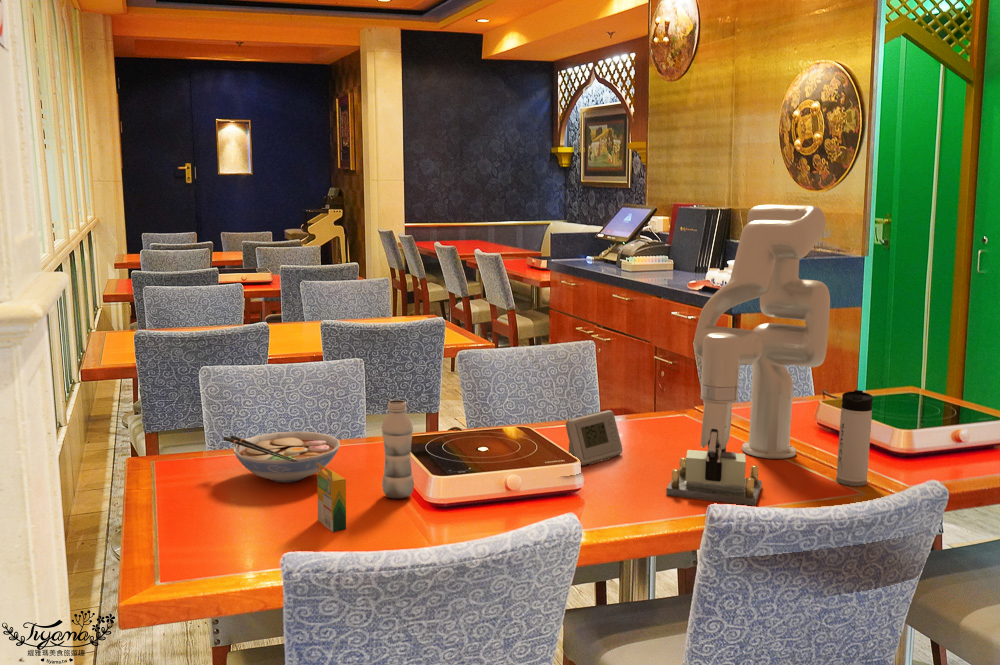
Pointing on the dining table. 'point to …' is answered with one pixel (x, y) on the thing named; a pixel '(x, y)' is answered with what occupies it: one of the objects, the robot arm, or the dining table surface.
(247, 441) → the ramen bowl
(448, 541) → the dining table surface
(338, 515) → the crayon box
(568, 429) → the digital clock
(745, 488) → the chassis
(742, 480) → the cream rectangular block
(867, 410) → the travel mug
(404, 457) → the plastic bottle
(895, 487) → the dining table surface
